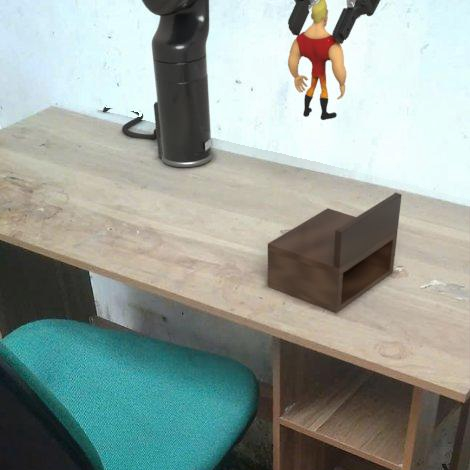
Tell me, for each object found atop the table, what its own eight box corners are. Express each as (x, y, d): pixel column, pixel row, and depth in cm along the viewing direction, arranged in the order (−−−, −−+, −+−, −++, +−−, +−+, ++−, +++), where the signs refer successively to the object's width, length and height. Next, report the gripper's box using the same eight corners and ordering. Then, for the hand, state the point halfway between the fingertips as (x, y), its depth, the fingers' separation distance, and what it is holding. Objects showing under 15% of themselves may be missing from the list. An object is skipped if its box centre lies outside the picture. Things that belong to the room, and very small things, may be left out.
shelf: (267, 286, 113) (267, 207, 105) (325, 249, 121) (329, 173, 112) (336, 313, 107) (341, 232, 99) (393, 272, 115) (401, 194, 107)
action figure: (351, 117, 117) (357, -1, 106) (339, 125, 115) (344, 5, 104) (297, 107, 121) (298, -8, 111) (284, 115, 119) (284, -1, 109)
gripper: (314, -108, 107) (261, 11, 110) (406, -101, 101) (347, 26, 103) (335, -67, 114) (284, 44, 116) (422, -58, 107) (367, 60, 109)
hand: (314, 35), depth 109 cm, fingers closed on action figure, 7 cm apart
